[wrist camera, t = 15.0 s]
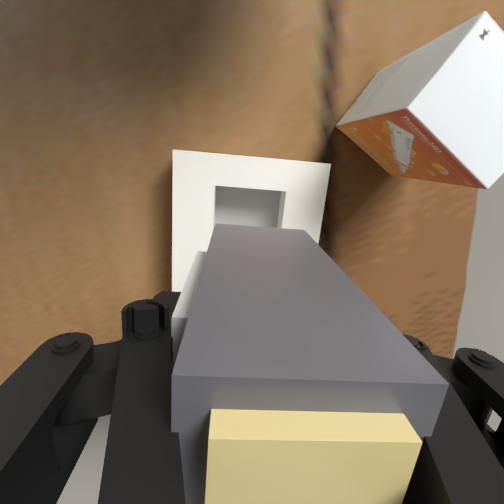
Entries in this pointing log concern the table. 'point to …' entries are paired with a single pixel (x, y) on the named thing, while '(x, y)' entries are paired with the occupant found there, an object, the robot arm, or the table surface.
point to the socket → (240, 199)
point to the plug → (294, 380)
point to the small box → (438, 109)
